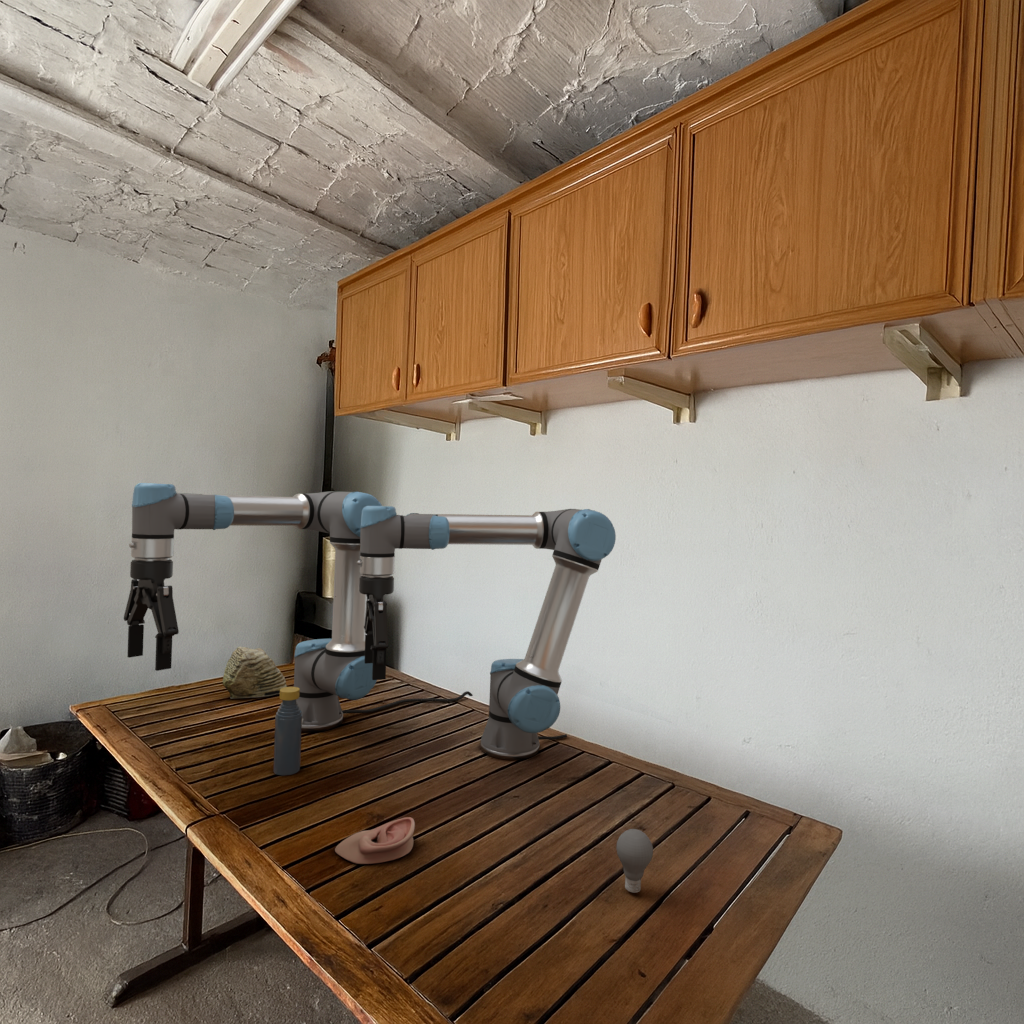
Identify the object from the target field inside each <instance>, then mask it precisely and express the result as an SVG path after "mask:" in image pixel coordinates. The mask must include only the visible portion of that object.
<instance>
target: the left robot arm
mask: <svg viewBox="0 0 1024 1024" xmlns="http://www.w3.org/2000/svg"><path fill="white" fill-rule="evenodd" d="M366 506H383V505H382V503H381V502H380V501H379V500H378V498H377V497H375V495H373V494H370V493H367V492H363V491H362V492H361V491H337V490H336V491H335V490H333V491H332V490H330V491H321V492H311V493H295V494H294V495H293V496H276V495H275V496H274V495H273V496H272V495H248V494H247V495H246V494H244V495H243V494H220V493H219V494H218V493H217V494H216V493H215V494H214V493H189V492H187V493H186V492H177V491H176V486H175V485H174V484H173V483H152V482H139V483H137V484H136V485H135V486H134V488H133V492H132V501H131V520H132V521H131V542H130V543H128V547H129V548H130V549H131V550H130V556H131V558H133V559H132V560H131V561H130V567H129V568H130V571H129V574H130V575H129V576H130V578H131V581H130V590H129V594H128V598H127V603H126V607H125V610H124V615H123V621H124V622H126V624H127V626H128V629H127V630H128V631H127V658H135V657H142V656H144V635H145V634H144V630H145V625H144V624H145V623H146V621H145V619H144V618H145V616H146V615H147V612H148V609H149V610H151V613H152V618H153V620H154V624H155V627H156V631H157V633H156V635H155V636H154V638H155V661H154V663H155V665H154V668H155V669H154V670H155V671H157V672H159V671H164V670H169V669H172V659H173V657H172V655H173V637H175V636H176V635H179V632H180V631H179V625H178V619H177V615H176V614H177V613H176V609H175V603H174V597H173V595H174V593H173V585H165V580H167V579H171V578H172V577H173V575H174V573H173V572H174V561H173V560H172V559H171V558H173V557H174V554H175V553H174V552H175V530H213V531H215V530H224V529H228V528H230V526H233V527H234V526H237V527H238V526H240V527H243V526H246V527H247V526H249V527H250V526H258V527H259V526H268V527H269V526H276V527H277V526H282V527H284V526H285V527H286V526H287V527H288V526H289V527H290V526H291V527H293V528H294V529H296V530H308V531H309V530H310V531H316V532H319V533H325V534H329V544H330V545H331V546H332V547H333V548H334V550H335V551H334V572H333V573H334V577H333V599H332V625H331V626H332V627H331V638H317V639H308V640H304V641H300V642H299V643H297V645H296V646H295V650H294V655H293V657H294V672H293V673H294V674H293V687H298V688H300V695H299V698H298V699H296V702H298V705H299V708H300V710H301V711H302V733H316V732H325V731H329V730H332V729H335V728H337V727H339V726H340V725H342V723H343V722H344V715H345V714H346V715H347V714H369V713H375V712H378V711H381V710H384V709H388V708H392V707H394V706H397V705H401V704H405V703H416V702H417V703H421V702H423V703H425V702H426V703H427V702H432V703H433V702H435V703H436V702H437V703H453V702H458V701H460V700H462V699H463V698H464V697H465V696H469V697H473V696H474V695H473V693H471V691H467V690H466V691H463V693H461V694H460V695H459V696H457V697H454V698H435V697H434V698H433V697H431V698H427V697H426V698H425V697H423V698H417V697H416V698H406V699H400V700H396V701H393V702H390V703H387V704H384V705H381V706H377V707H374V708H369V709H342V706H341V702H340V699H339V698H341V699H342V700H343V699H344V700H348V701H349V700H350V701H357V700H360V699H362V698H364V697H365V696H367V695H368V694H370V692H371V690H372V689H374V687H375V685H376V683H377V682H378V680H372V667H373V663H366V664H365V635H366V634H365V629H364V625H365V614H366V601H367V596H366V595H365V594H361V593H360V592H359V578H360V577H361V576H363V575H362V574H361V573H360V565H358V564H357V561H359V560H361V559H360V553H361V552H360V526H361V514H362V509H363V508H364V507H366Z"/></svg>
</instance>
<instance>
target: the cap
mask: <svg viewBox="0 0 1024 1024" xmlns="http://www.w3.org/2000/svg"><path fill="white" fill-rule="evenodd" d="M299 695H300V688H298V687H294V686H287V687H284V688H281V689H280V694H279V699H280V700H281V701H282V700H295V699H298V698H299Z"/></svg>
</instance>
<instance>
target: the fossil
mask: <svg viewBox="0 0 1024 1024" xmlns="http://www.w3.org/2000/svg"><path fill="white" fill-rule="evenodd" d="M222 676H223V677H222V685H223V687H224V688H225V690H226V691H228V693H229V698H230V699H250V698H264V697H271V696H275V695H280V689H281V688H284V687H288V686H287V680H286V678H285V676H284V674H283V673H282V672H281V669H279V668H278V667H277V665H276V663H275V662H274V660H273V659H272V658H271V657H270V656H269V655H268V654H267V653H266V652H265V650H264V649H263V648H260V647H258V648H251V647H247V646H246V647H245V646H238V647H237V648H236V649H235V650H233V651H232V653H231V656H230V657H229V659H228V660H227V663H226V666H225V668H224V671H223V675H222Z"/></svg>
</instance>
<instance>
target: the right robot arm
mask: <svg viewBox="0 0 1024 1024" xmlns="http://www.w3.org/2000/svg"><path fill="white" fill-rule="evenodd" d="M616 537H617V535H616V530H615V527H614V525H613V523H612V521H611V520H610V518H609V517H608V516H606V515H605V514H603V513H602V512H600V511H597V510H595V509H594V510H593V509H590V508H584V509H580V508H565V509H558V510H550V511H535V512H533V514H532V515H530V514H529V515H526V514H525V515H520V514H462V513H461V514H454V513H451V514H450V513H449V514H448V513H437V514H436V513H418V512H411V513H407V514H406V515H400V514H397V509H396V507H395V506H392V505H391V506H390V505H382V506H366V507H364V508H363V509H362V514H361V526H360V552H361V553H360V559H361V560H359V561H357V564H358V565H360V573H361V574H362V575H363V576H361V577H360V578H359V592H360V593H361V594H365V595H366V596H367V601H366V614H365V625H364V629H365V664H366V663H373V667H372V680H377V681H380V680H386V679H387V678H386V675H387V649H388V648H389V639H388V637H389V636H388V616H387V611H388V610H387V608H388V603H387V601H385V600H384V599H385V598H384V597H385V595H391V594H393V593H394V592H395V577H394V576H393V575H394V574H395V566H396V555H395V553H396V551H395V550H396V549H398V550H402V549H408V550H409V549H410V550H411V549H412V550H433V551H435V550H442V549H446V548H447V547H448V545H481V546H482V545H484V546H485V545H487V546H488V545H489V546H490V545H492V546H493V545H495V546H497V545H498V546H500V545H501V546H503V545H505V546H510V545H512V546H513V545H515V546H532V547H533V548H534V549H537V550H538V549H539V550H540V549H542V550H549V551H551V550H552V555H551V557H552V559H553V561H554V563H555V565H554V569H553V572H552V575H551V578H550V581H549V584H548V587H547V590H546V593H545V596H544V599H543V602H542V605H541V608H540V610H539V615H538V617H537V621H536V623H535V626H534V629H533V633H532V635H531V638H530V640H529V644H528V647H527V650H526V653H525V656H524V658H502V659H496V660H494V661H493V662H492V663H491V665H490V672H489V675H490V677H489V702H488V703H489V704H488V719H487V722H486V724H485V727H484V730H483V733H482V734H481V738H480V750H481V751H482V752H483V753H484V754H485V755H487V756H489V757H492V758H495V759H500V760H505V761H506V760H509V761H518V760H526V759H529V758H532V757H535V756H536V755H538V753H539V752H540V741H541V740H545V741H556V740H557V741H558V740H561V739H566V738H568V735H567V734H566V733H565V734H561V735H556V736H555V735H554V736H548V735H546V736H545V735H538V733H542V732H544V731H546V730H548V729H550V728H551V727H552V726H553V725H555V723H556V721H557V720H558V718H559V716H560V713H561V701H560V697H559V691H560V689H561V686H562V682H563V679H562V677H561V674H560V672H559V670H560V668H561V665H562V661H563V658H564V655H565V652H566V650H567V646H568V643H569V640H570V638H571V634H572V631H573V628H574V624H575V622H576V619H577V615H578V613H579V609H580V606H581V603H582V600H583V597H584V594H585V591H586V588H587V585H588V582H589V579H590V578H591V576H592V575H594V574H596V573H598V572H599V569H600V566H601V563H602V560H603V559H605V558H606V557H608V556H609V555H610V554H611V553H612V551H613V549H614V547H615V544H616V539H617V538H616Z"/></svg>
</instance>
